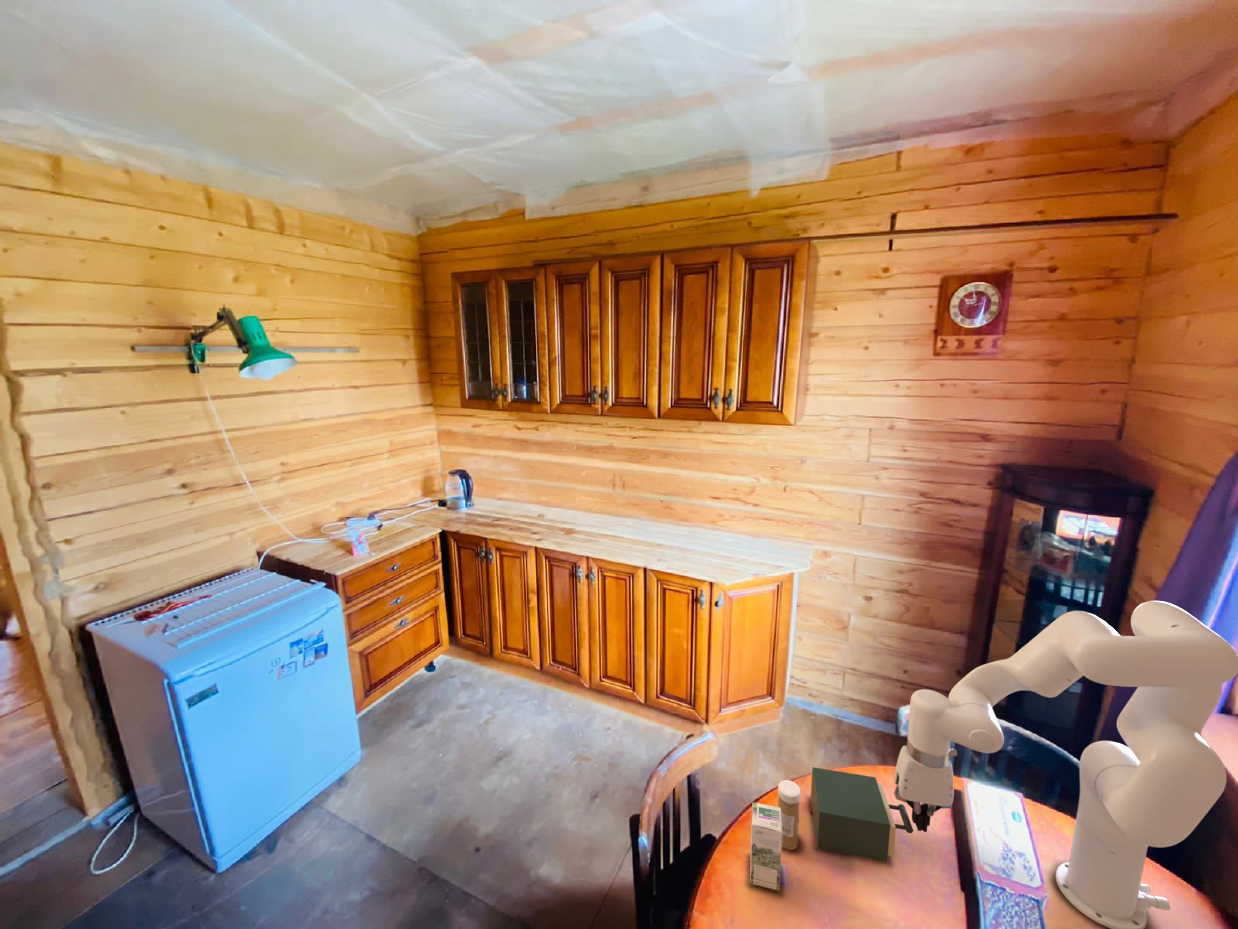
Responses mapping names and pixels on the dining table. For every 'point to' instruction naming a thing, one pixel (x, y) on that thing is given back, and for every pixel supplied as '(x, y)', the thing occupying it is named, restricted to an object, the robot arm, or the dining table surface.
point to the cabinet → (849, 814)
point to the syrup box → (766, 846)
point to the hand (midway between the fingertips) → (920, 825)
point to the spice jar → (789, 812)
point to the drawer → (893, 826)
